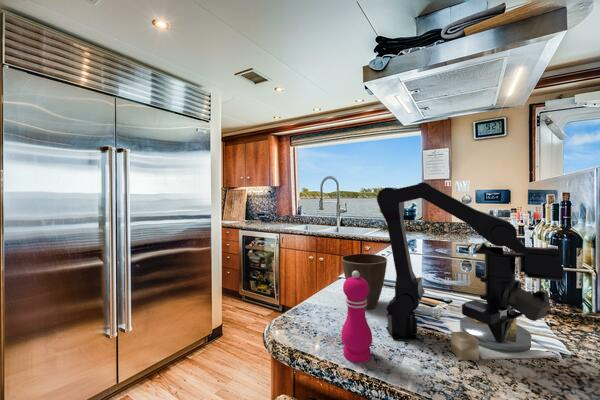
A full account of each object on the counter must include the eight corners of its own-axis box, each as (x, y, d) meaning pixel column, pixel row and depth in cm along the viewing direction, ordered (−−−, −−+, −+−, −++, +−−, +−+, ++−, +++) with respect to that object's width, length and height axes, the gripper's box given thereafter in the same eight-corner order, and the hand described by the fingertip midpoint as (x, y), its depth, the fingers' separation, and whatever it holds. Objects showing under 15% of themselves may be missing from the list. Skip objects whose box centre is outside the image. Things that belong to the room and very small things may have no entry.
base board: (483, 359, 63) (483, 357, 63) (443, 324, 80) (443, 322, 80) (556, 357, 64) (556, 355, 64) (501, 322, 81) (501, 321, 81)
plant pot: (342, 313, 89) (341, 263, 89) (342, 296, 104) (341, 253, 103) (391, 315, 87) (390, 264, 86) (384, 297, 101) (383, 253, 101)
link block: (461, 360, 63) (460, 340, 63) (451, 350, 67) (451, 332, 67) (478, 359, 63) (478, 340, 63) (467, 350, 67) (467, 331, 67)
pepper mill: (338, 347, 69) (337, 267, 69) (366, 345, 70) (365, 266, 69) (345, 365, 62) (344, 276, 62) (377, 363, 63) (376, 274, 62)
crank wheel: (484, 353, 64) (484, 318, 64) (448, 322, 80) (448, 294, 79) (548, 351, 65) (548, 317, 64) (500, 321, 80) (500, 293, 80)
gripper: (516, 292, 52) (516, 374, 53) (565, 277, 60) (565, 349, 61) (459, 276, 62) (460, 346, 63) (508, 265, 70) (508, 327, 71)
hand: (499, 342), depth 64 cm, fingers closed
